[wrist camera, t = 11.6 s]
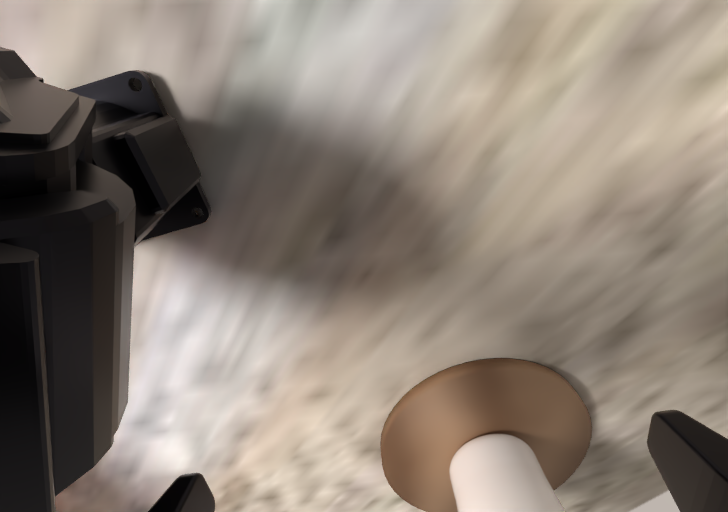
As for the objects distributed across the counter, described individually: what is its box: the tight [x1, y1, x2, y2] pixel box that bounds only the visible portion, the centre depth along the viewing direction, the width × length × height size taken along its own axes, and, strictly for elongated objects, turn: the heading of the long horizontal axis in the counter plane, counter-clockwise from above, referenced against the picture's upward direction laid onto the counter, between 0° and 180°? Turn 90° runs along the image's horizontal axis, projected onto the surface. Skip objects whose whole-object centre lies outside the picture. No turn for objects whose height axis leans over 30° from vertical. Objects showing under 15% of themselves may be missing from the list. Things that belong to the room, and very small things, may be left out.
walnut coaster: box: [381, 358, 592, 512], centre depth 27 cm, size 13×13×1 cm
